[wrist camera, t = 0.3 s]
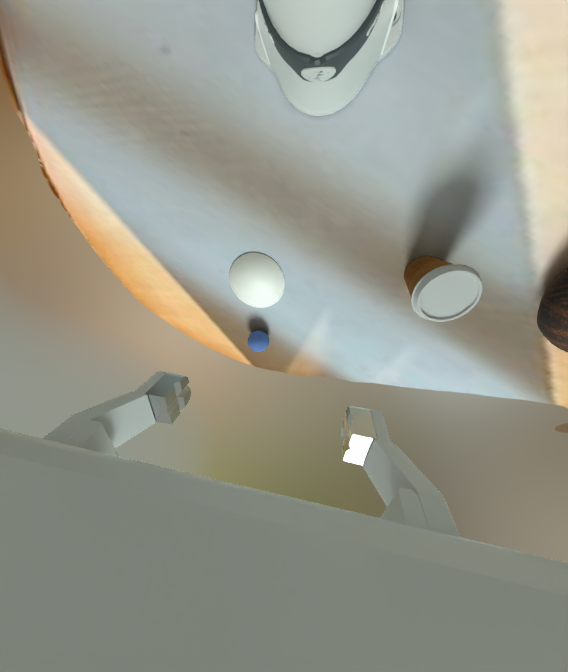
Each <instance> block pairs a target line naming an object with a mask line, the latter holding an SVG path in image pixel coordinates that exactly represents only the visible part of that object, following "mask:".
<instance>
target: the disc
mask: <svg viewBox="0 0 568 672" xmlns="http://www.w3.org/2000/svg"><path fill="white" fill-rule="evenodd" d="M230 284H231V287H232V289H233V291H234V293H235V294H236V295H237V297H238V298H239V299H240V300H242V301H243V302H244V303H246V304H248V305H250V306H253V307H261V308H262V307H268V306H271V305H273V304H275V303H276V302H277V301H278V300H279V299H280V298H281V296H282V294H283V292H284V287H285V280H284V275H283V272H282V270H281V269H280V267H279V266H278V264H277V263H276V262H275V261H274V260H273V259H271V258H270V257H268V256H266V255H264V254H260V253H247V254H244V255H242V256H240V257H239V258H237V259H236V260H235V262H234V263H233V265H232V267H231V270H230Z"/></svg>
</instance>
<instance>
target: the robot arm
mask: <svg viewBox="0 0 568 672" xmlns="http://www.w3.org/2000/svg"><path fill="white" fill-rule="evenodd" d="M403 13H404V0H257V11H256V12H255V21H256V29H255V48H256V52H257V54H258V56H259V58H260V59H261V61H262V62H263V63H264V64H265V65H266V66H267V67H269V68H270V69H271V70H272V71H273V73H274V74H275V76H276V78H277V80H278V82H279V84H280V87H281V89H282V91H283V92H284V94H285V96H286V97H287V99H288V100H289V101H290V102H291V103H292V104H293V105H294V106H295V107H296V108H297V109H299V110H300V111H302V112H304V113H306V114H309V115H313V116H324V115H329V114H332V113H334V112H336V111H338V110H340V109H342V108H343V107H344V106H346V105H347V104H348V103H349V102H350V101H351V100H352V99H353V98H354V97H355V96H356V95H357V94H358V92H359V91H360V90H361V88H362V87H363V86H364V84H365V82H366V81H367V79H368V77H369V75H370V74H371V72H372V70H373V69H374V67H375V66H376V65H377V63H378V62H379V61H380V60H382V59H383V58H384V57H385V56H386V55H387V54H388V53H389V52H390V51H391V50H392V49H393V48H394V47H395V45H396V44H397V43H398V41H399V39H400V36H401V32H402V27H403ZM394 16H395V20H394ZM393 20H394V21H393ZM188 383H189V380H188V377H186V376H182V375H177V374H173V373H167V372H162V371H158V372H156V373H155V374H154V375H153V376H151V377H150V378H149V379H148V380H147V381H146V382H145V383H144V384H143V385H142V386H140V387H139V388H138V389H137V390H136V391H135V392H129V393H127V394H124V395H121V396H119V397H116V398H114V399H112V400H109V401H106V402H104V403H101V404H99V405H96V406H94V407H92V408H89V409H86V410H84V411H82V412H79V413H76V414H74V415H72V416H71V417H70V418H68V419H67V420H66V421H65V422H63V423H62V424H61V425H59V426H58V427H57V428H55V429H54V430H53V431H52V432H50V433H49V434H48V435H46V436H45V437H44V438H43V439H42V438H38V437H34V436H29V435H25V434H21V433H17V432H13V431H8V430H4V429H0V672H568V563H567V562H563V561H559V560H555V559H550V558H546V557H542V556H537V555H533V554H529V553H525V552H520V551H516V550H512V549H508V548H504V547H499V546H495V545H491V544H487V543H482V542H478V541H474V540H470V539H466V538H461V537H460V535H459V532H458V530H457V528H456V525H455V523H454V520H453V518H452V516H451V513H450V511H449V508H448V506H447V503H446V501H445V499H444V496H443V495H442V494H441V493H440V492H439V491H438V490H437V489H436V488H435V487H434V485H433V484H432V483H431V482H430V481H429V480H428V479H427V478H426V477H425V476H424V475H423V474H422V472H420V470H419V469H418V468H417V467H416V466H415V465H414V464H413V463H412V462H411V461H410V459H408V457H407V456H406V455H405V454H404V453H403V452H402V451H401V450H400V449H399V448H398V447H397V445H396V444H395V443H391V441H390V437H389V434H388V431H387V427H386V424H385V420H384V417H383V413H382V412H381V411H377V410H371V409H370V410H369V409H365V408H359V407H353V406H348V407H347V409H346V417H344V418H343V422H342V439H343V440H344V443H343V446H342V449H343V460H344V461H348V462H352V463H356V464H360V465H363V468H364V469H365V471H366V473H367V474H368V476H369V478H370V479H371V481H372V482H373V484H374V486H375V488H376V489H377V491H378V493H379V494H380V496H381V498H382V499H383V501H384V502H385V504H386V506H387V509H386V510H385V512H384V513H383V515H382V516H381V518H376V517H372V516H368V515H364V514H360V513H355V512H351V511H347V510H343V509H338V508H334V507H330V506H325V505H321V504H317V503H313V502H309V501H304V500H300V499H296V498H292V497H288V496H283V495H279V494H274V493H271V492H267V491H262V490H258V489H254V488H250V487H245V486H241V485H237V484H233V483H228V482H224V481H220V480H215V479H211V478H207V477H203V476H199V475H194V474H190V473H186V472H182V471H177V470H172V469H169V468H164V467H160V466H156V465H152V464H148V463H143V462H139V461H135V460H131V459H127V458H122V457H119V455H118V454H117V452H116V450H115V448H116V447H118V446H120V445H121V444H123V443H124V442H126V441H128V440H129V439H131V438H132V437H134V436H135V435H137V434H138V433H140V432H141V431H143V430H145V429H146V428H148V427H149V426H151V425H153V424H154V423H156V422H162V423H168V424H173V422H174V421H175V420H176V418H177V417H178V416H179V414H180V409H182V408H184V407H185V406H186V405H187V404H188V402H189V400H190V397H191V390H190V388H189V387H188V386H187V384H188Z"/></svg>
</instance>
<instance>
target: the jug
mask: <svg viewBox="0 0 568 672" xmlns="http://www.w3.org/2000/svg"><path fill="white" fill-rule="evenodd" d="M537 324H538V327H539V329H540V331H541V332H542V333H543V335H544V336H545V337H546V338H547V339H548V340H549V341H550V342H551V343H552V344H553V345H555V346H556V347H558V348H559V349H561V350H564V351H566V352H568V269H567V270H566V271H564V272H563V273H562V274H561V275H560V276H559V277H558V278H556V279H555V281H554V282H553V283H552V284H551V285H550V286H549V288H548V289H547V290H546V292H545V294H544V296H543V298H542V300H541V302H540V306H539V310H538V316H537Z"/></svg>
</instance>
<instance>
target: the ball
mask: <svg viewBox="0 0 568 672" xmlns="http://www.w3.org/2000/svg"><path fill="white" fill-rule="evenodd" d="M248 345H249V347H250V348H251V349H252V350H253V351H256V352H261V351H263V350H265V349H266V348H267V347H268V345H269V337H268V335H267V334H266V333H265V332H263V331H254V332H252V333H251V334H250V336H249V338H248Z"/></svg>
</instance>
